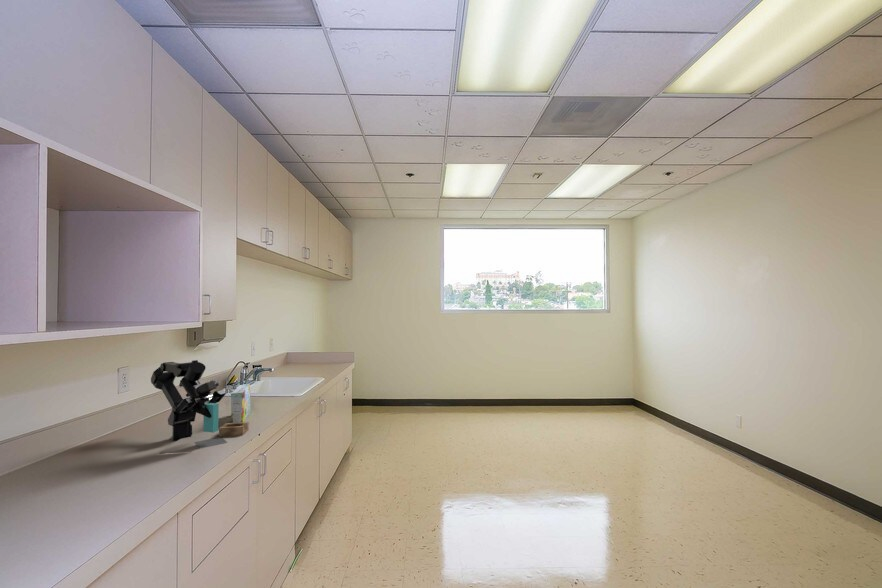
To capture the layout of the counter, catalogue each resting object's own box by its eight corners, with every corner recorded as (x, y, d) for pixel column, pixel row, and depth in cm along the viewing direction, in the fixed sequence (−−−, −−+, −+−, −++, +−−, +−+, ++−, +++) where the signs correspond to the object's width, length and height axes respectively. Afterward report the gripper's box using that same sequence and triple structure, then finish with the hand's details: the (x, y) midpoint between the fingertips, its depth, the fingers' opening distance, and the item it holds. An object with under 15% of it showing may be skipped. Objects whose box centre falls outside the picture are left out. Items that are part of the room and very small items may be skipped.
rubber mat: (198, 450, 150) (198, 448, 150) (194, 443, 158) (194, 442, 158) (227, 443, 157) (227, 442, 157) (221, 437, 164) (221, 436, 164)
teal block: (203, 431, 157) (203, 404, 157) (208, 429, 159) (209, 402, 160) (213, 432, 155) (213, 405, 156) (218, 430, 158) (218, 403, 158)
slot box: (218, 437, 164) (219, 428, 164) (225, 432, 171) (225, 423, 171) (242, 436, 166) (242, 426, 166) (248, 431, 173) (248, 422, 173)
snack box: (239, 413, 203) (239, 384, 204) (250, 412, 205) (251, 383, 206) (230, 424, 183) (230, 392, 184) (243, 423, 185) (243, 391, 185)
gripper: (183, 378, 150) (204, 409, 147) (223, 370, 168) (243, 397, 165) (167, 397, 152) (188, 428, 149) (208, 387, 170) (228, 415, 167)
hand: (213, 416), depth 157 cm, fingers closed on teal block, 2 cm apart
